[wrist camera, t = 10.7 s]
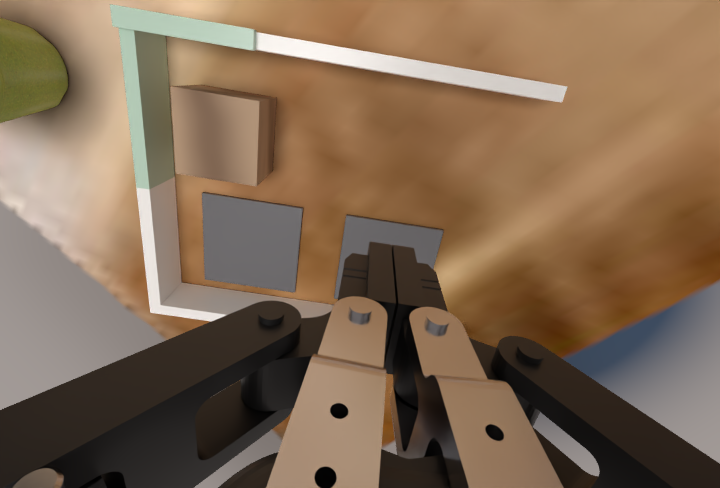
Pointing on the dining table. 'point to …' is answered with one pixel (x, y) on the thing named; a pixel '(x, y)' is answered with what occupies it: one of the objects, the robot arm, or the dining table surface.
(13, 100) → the plant pot
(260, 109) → the walnut block
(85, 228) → the dining table surface
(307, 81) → the dining table surface
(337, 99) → the dining table surface
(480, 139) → the dining table surface
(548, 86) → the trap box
